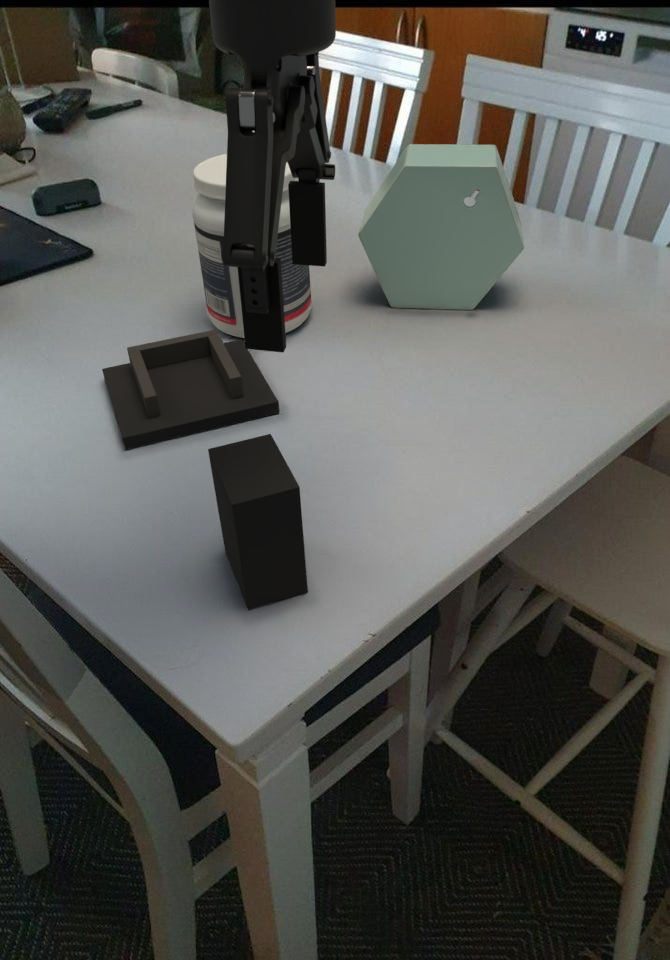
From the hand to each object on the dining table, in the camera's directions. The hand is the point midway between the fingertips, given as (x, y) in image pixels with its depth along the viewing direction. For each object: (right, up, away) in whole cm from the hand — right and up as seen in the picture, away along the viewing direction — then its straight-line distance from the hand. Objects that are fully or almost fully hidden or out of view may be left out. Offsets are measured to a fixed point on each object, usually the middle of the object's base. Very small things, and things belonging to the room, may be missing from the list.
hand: (289, 302), depth 61 cm
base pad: (-12, -4, +26) cm, 29 cm away
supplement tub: (-6, +7, +39) cm, 40 cm away
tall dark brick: (-2, -21, +5) cm, 22 cm away
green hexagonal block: (+17, +10, +42) cm, 47 cm away
